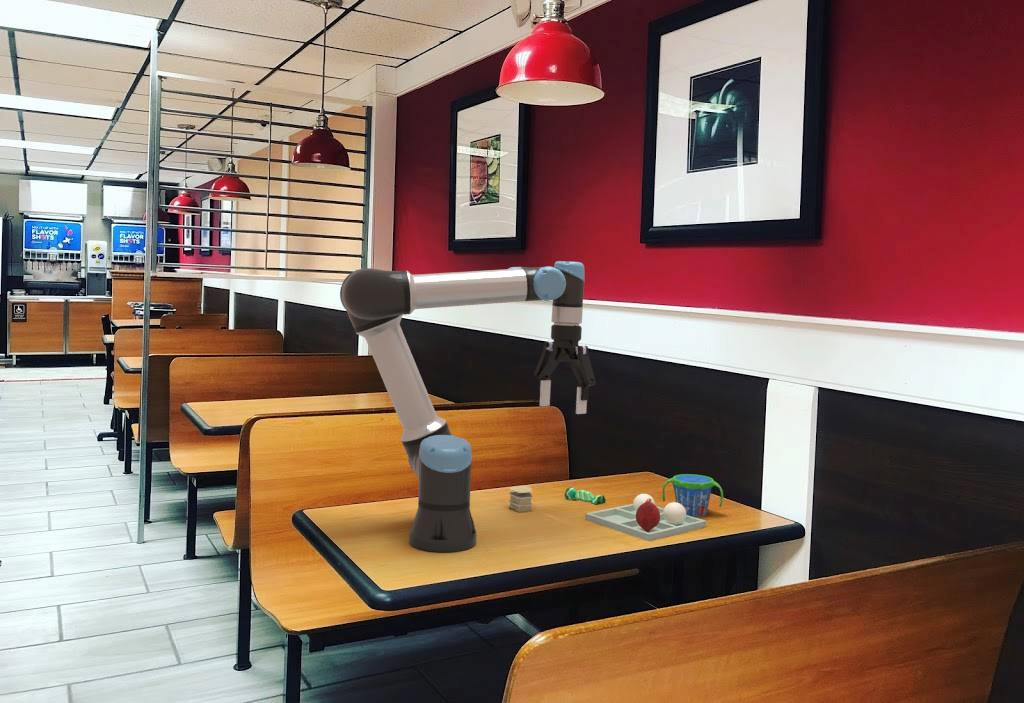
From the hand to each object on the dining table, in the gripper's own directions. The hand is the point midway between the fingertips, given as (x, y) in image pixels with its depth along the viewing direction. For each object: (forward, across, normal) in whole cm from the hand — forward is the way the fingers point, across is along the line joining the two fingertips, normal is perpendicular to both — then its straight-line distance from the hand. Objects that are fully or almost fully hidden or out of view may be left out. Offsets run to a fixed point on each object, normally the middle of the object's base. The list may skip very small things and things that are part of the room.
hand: (562, 409), depth 209 cm
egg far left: (+27, -11, -20) cm, 35 cm away
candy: (+28, +9, -18) cm, 35 cm away
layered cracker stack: (+29, +14, 0) cm, 32 cm away
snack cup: (+28, -16, -33) cm, 46 cm away
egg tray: (+28, -16, -15) cm, 36 cm away
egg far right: (+27, -21, -20) cm, 40 cm away
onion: (+27, -21, -10) cm, 36 cm away
